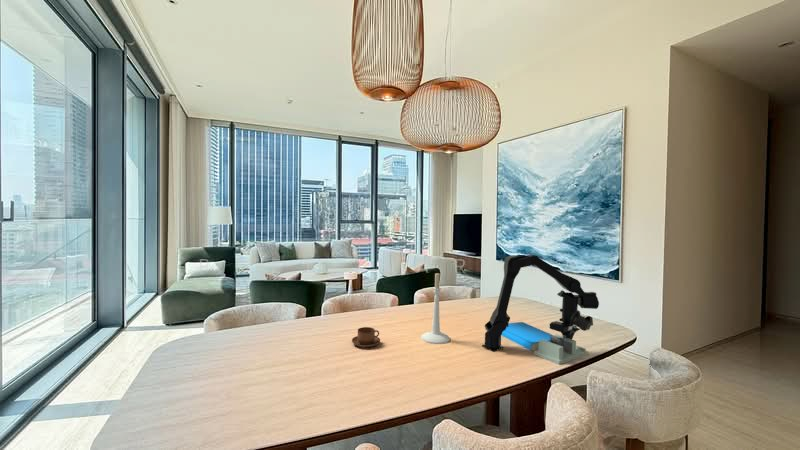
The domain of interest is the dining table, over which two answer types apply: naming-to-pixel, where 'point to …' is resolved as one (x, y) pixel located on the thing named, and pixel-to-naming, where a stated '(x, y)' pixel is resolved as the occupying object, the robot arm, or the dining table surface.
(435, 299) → the candlestick
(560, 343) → the block
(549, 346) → the vise
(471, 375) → the dining table surface
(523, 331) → the book
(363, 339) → the cup and saucer
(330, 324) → the dining table surface
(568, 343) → the jaw
